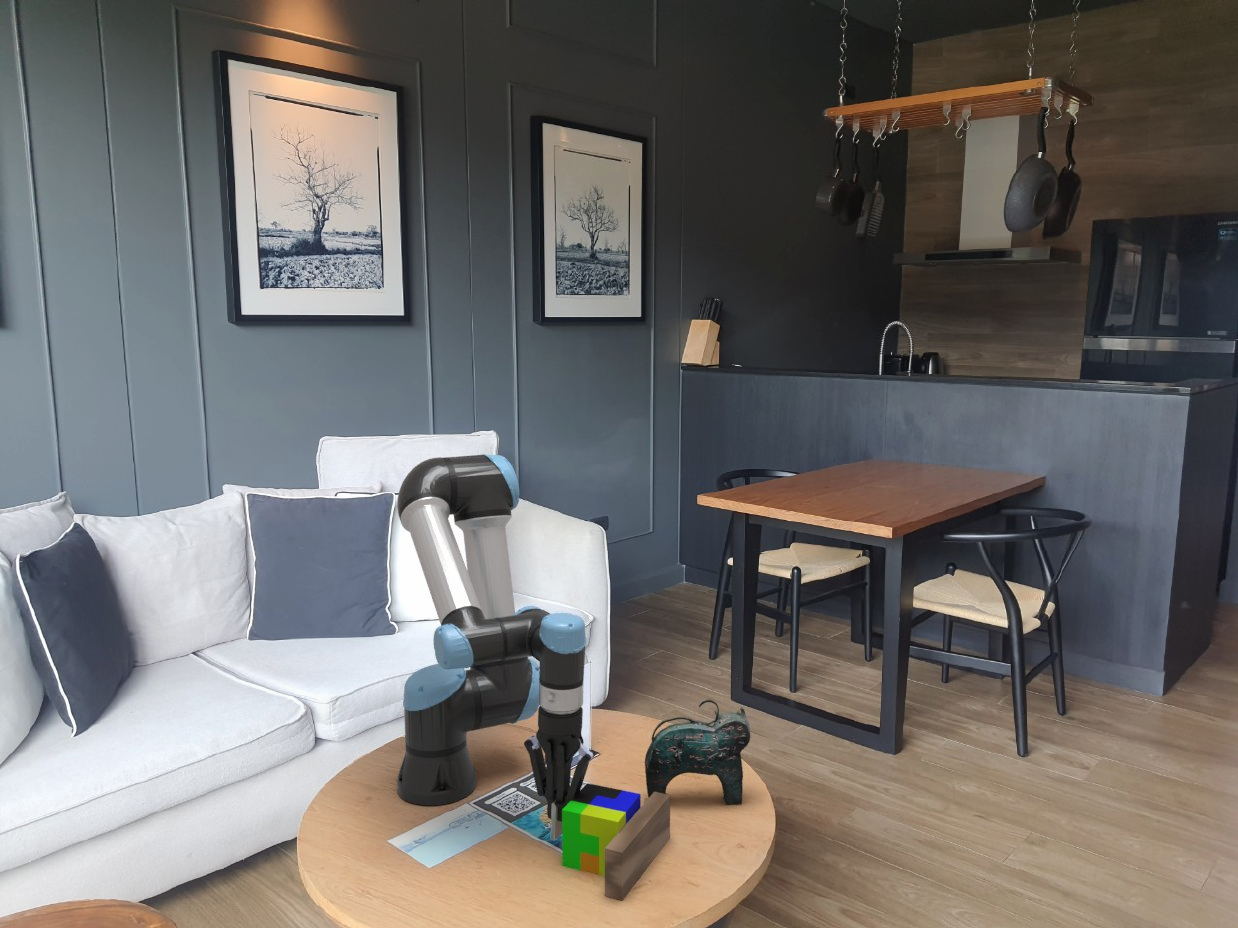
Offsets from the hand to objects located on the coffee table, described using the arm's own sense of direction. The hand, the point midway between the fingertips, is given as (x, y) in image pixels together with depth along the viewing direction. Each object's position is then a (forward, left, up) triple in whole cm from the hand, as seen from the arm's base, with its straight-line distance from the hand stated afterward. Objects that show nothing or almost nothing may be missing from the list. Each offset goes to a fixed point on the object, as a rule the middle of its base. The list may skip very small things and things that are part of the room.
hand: (556, 836), depth 159 cm
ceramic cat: (+17, +24, -2) cm, 30 cm away
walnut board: (+15, 0, -2) cm, 16 cm away
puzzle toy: (+9, 0, -2) cm, 9 cm away
